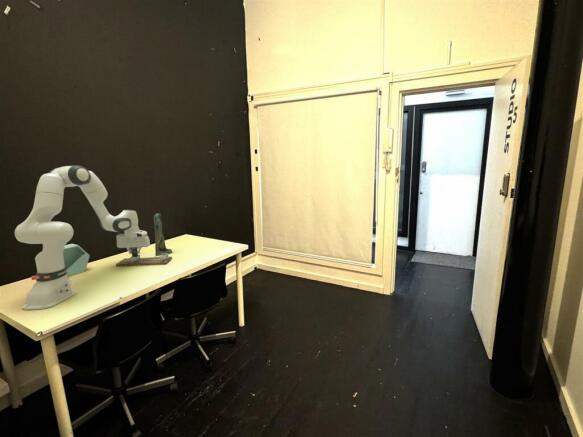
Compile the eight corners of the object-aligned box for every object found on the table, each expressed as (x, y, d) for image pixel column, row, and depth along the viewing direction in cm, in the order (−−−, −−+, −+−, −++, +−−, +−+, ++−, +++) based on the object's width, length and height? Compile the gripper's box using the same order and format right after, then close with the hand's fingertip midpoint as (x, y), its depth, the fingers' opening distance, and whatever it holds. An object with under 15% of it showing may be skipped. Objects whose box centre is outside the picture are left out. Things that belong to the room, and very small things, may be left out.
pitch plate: (166, 264, 200) (165, 255, 198) (115, 266, 198) (114, 257, 197) (171, 258, 211) (171, 250, 210) (124, 260, 209) (123, 252, 208)
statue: (172, 253, 224) (168, 213, 218) (156, 256, 218) (152, 215, 212) (170, 250, 229) (166, 212, 223) (154, 253, 223) (150, 213, 217)
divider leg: (135, 262, 199) (133, 250, 197) (129, 262, 199) (127, 251, 197) (140, 258, 206) (138, 247, 205) (134, 258, 206) (132, 247, 205)
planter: (73, 282, 185) (46, 260, 172) (67, 279, 189) (40, 258, 176) (95, 260, 195) (71, 239, 182) (89, 258, 199) (65, 237, 186)
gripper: (113, 235, 196) (116, 255, 199) (145, 234, 198) (148, 254, 200) (118, 232, 203) (121, 252, 205) (149, 231, 204) (151, 251, 206)
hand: (134, 253), depth 203 cm, fingers closed on divider leg, 4 cm apart
